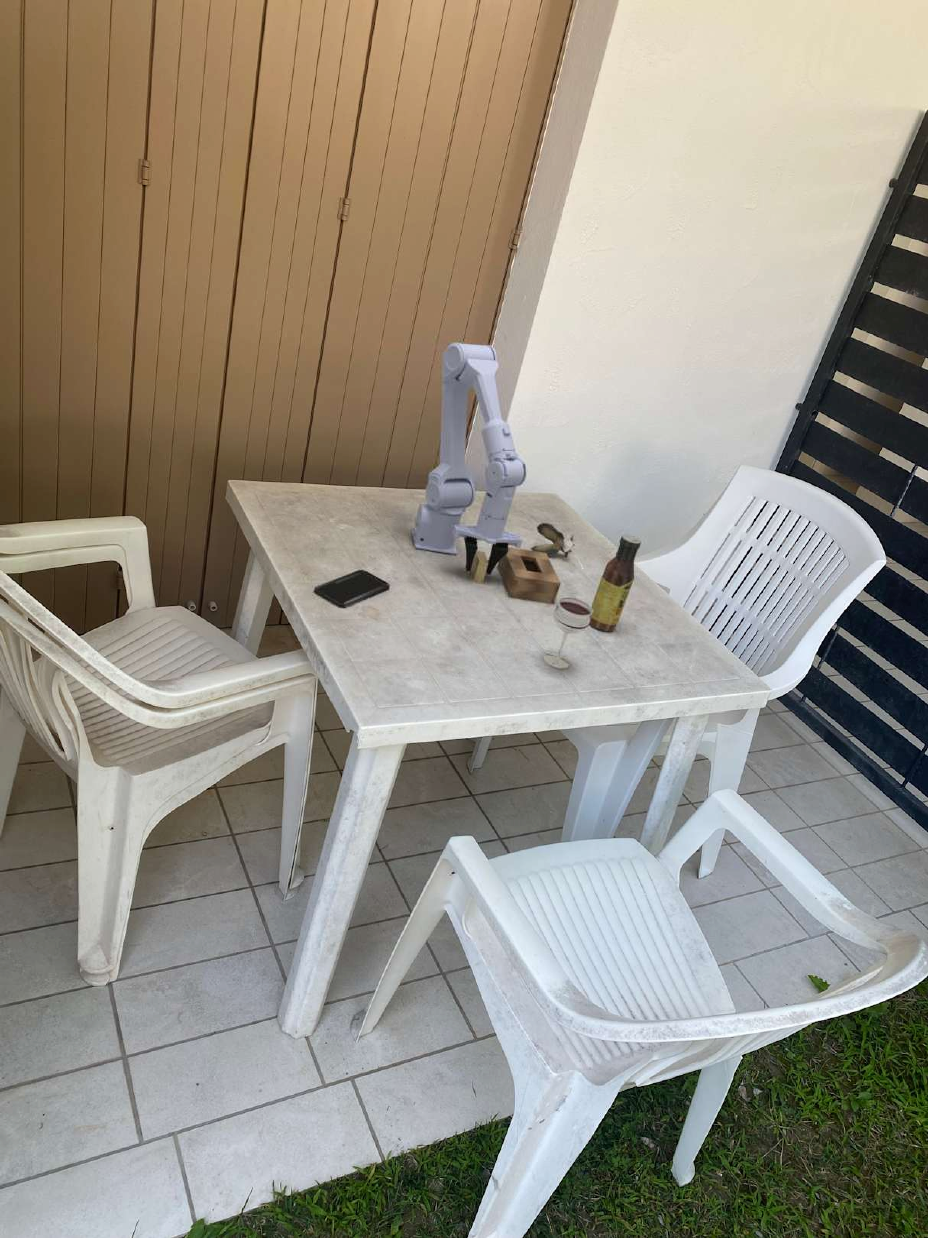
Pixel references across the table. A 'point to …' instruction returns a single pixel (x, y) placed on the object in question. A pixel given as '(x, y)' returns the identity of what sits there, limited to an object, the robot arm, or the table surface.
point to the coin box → (529, 575)
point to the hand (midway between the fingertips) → (477, 571)
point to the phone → (351, 588)
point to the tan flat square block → (479, 567)
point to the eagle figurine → (553, 540)
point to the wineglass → (568, 624)
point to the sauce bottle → (615, 585)
